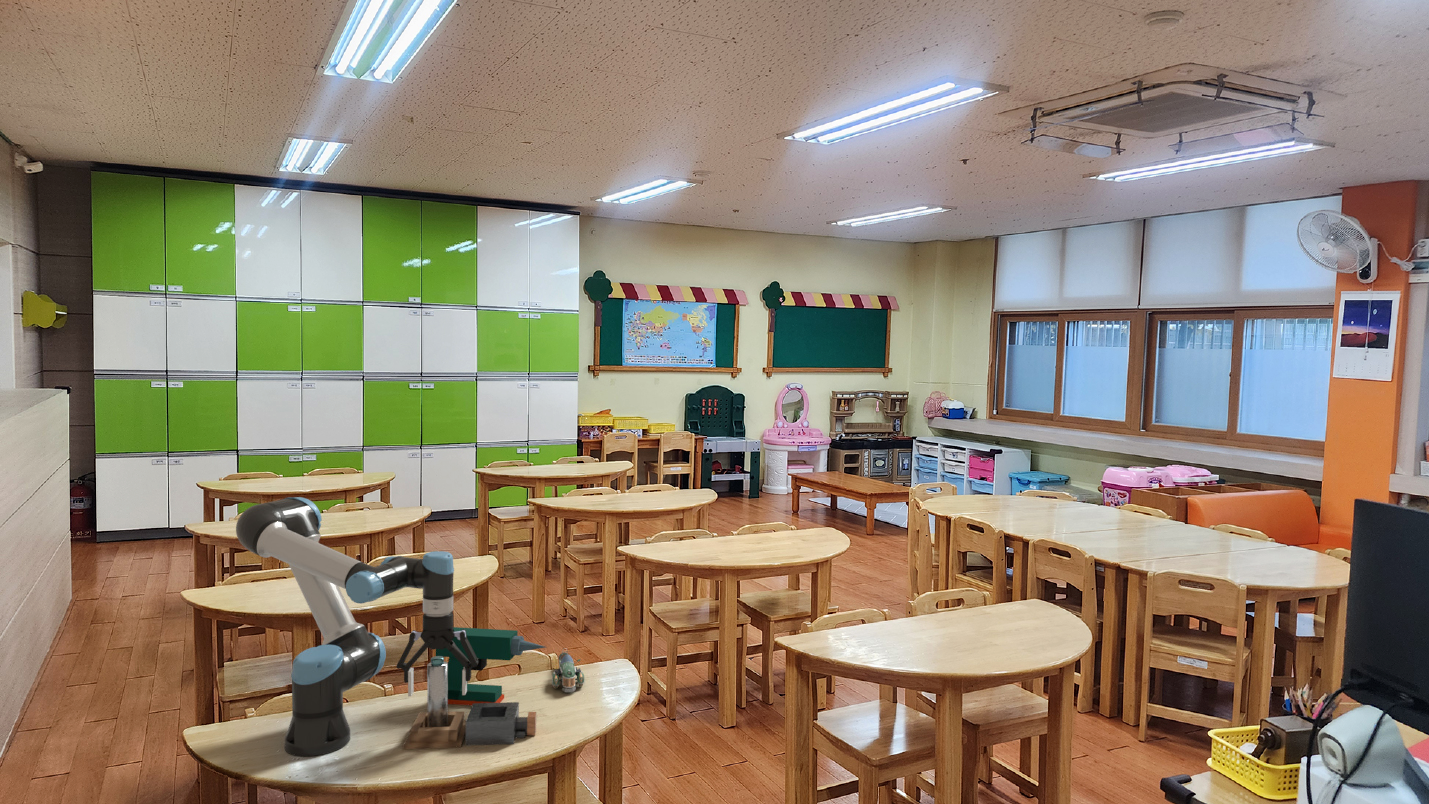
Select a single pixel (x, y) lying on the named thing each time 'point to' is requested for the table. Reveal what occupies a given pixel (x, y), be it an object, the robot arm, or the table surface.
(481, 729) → the socket block
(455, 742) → the frame
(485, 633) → the power tool
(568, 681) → the hoverbike
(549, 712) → the table surface
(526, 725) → the block
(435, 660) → the peg
